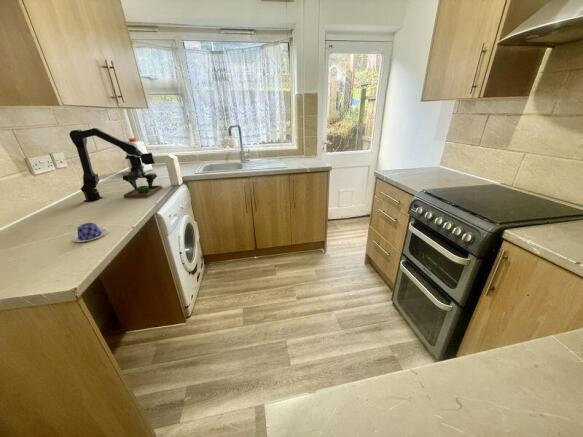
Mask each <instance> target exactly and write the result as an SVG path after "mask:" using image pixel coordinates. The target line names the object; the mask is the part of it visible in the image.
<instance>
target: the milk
mask: <svg viewBox="0 0 583 437" xmlns="http://www.w3.org/2000/svg"><path fill="white" fill-rule="evenodd" d="M164 161H165V165H166V166H165V167H166V169H167V175H168V179H169V183H170V186H171V187H172V186H181V185H182V184H183V183H184V182H183V178H182V177H183V176H182V172H181V168H180V163H179V158H178V156H176V155H174V154H173V152H169V153H168V154H167V156H166V157H165V158H164Z"/></svg>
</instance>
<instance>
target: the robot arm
mask: <svg viewBox="0 0 583 437" xmlns="http://www.w3.org/2000/svg"><path fill="white" fill-rule="evenodd" d="M68 135H69V138H70V139H71V142H72V144H73V145H74V146H75V147H76V151H77V155H78V158H79V161H80V164H81V168H82V172H83V174H82V183H83V185H82V186H81V187H80V191H81V192H82V193H83V195H84V198H85V199H84V202H95V201H98V200H100V199H102V198H103V197H102V196H101V194H100V192H99V190H98V188H97V185H99V183H100V177H99V174H98V173H95V172H94V169H93V167H92V166H93V165H92V162H91V158H90V155H89V152H88V147H87V143H88V138H91V137H97V138H99V139H101V140H103V141H105V142H107V143H110V144H112V145H113V146H116V147H118V148H119V149H121V150H122V151H123V152H125V154H126V153H128V154H130V155H131V156H130V155H128V154H127V155H126V156H125V158H124V159H125V160H127V159H129V160H130V164H131V167H132V168H130V169H129V172H128V173H126V174H123V175H122V177H121V178H122V181H125V182H127V183H129V184H130V185H131V186H132V187H133V190H134V189H135V190H137V187H138V186H137V180H138V179H146V180H145V181H146V182H147V186H149V189H150V190H151V188H152V186H153V182H154V180H156V178H158V176H157V173H155V172H151V173H149V172H148V173H147V174H146V172H144V171H143V168H144V166H142V164H141V161H142V163H143V164H145V165H147V164H151V165H155V164H156V161H155V157H154V155H153V153H152V152H147V153H146V154H143V153H142V152H141V151H140V150H138V147H137V146H136V145H134V144H131V143H128V142H129V141H124V140H121V139H120V138H117V137H115V136H113V135H111V134H109V133H107V132H105V131H103V130H101V129H100V128H97V127H92V128H90V129H84V130H82V129H72V130H70V131H69V134H68ZM135 155H136V156H135ZM140 158H141V160H140ZM130 170H131V172H130Z"/></svg>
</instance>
